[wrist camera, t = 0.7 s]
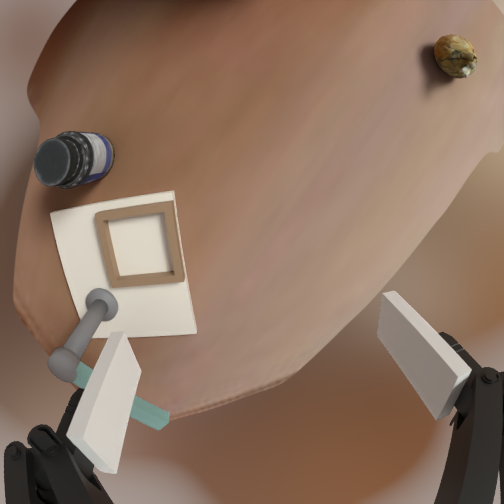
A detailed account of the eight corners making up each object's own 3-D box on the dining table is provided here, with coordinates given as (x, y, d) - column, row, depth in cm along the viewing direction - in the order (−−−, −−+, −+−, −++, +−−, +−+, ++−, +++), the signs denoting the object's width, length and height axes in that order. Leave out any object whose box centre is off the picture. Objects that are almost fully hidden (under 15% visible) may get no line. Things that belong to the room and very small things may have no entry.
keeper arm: (50, 358, 25) (44, 368, 23) (58, 341, 24) (51, 351, 22) (157, 423, 29) (156, 434, 27) (172, 410, 28) (170, 422, 27)
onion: (465, 81, 31) (497, 77, 24) (435, 82, 32) (470, 76, 24) (451, 41, 29) (482, 32, 21) (420, 38, 29) (451, 26, 21)
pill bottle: (73, 177, 32) (25, 191, 22) (79, 132, 30) (31, 130, 20) (113, 182, 33) (73, 197, 23) (119, 134, 31) (80, 131, 21)
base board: (54, 211, 33) (-7, 242, 20) (174, 190, 34) (145, 215, 21) (90, 333, 40) (57, 392, 27) (197, 328, 41) (190, 398, 28)
